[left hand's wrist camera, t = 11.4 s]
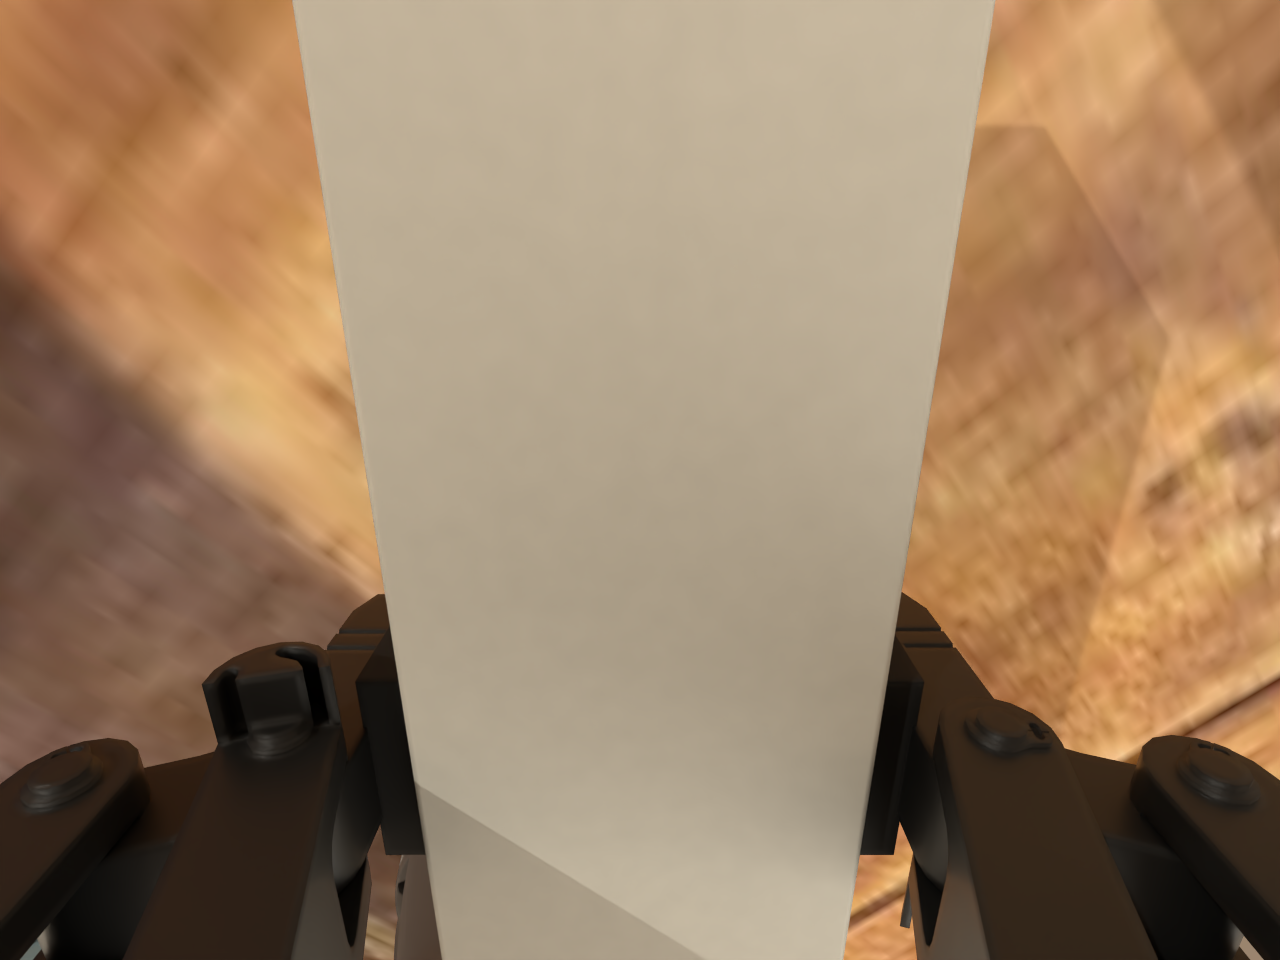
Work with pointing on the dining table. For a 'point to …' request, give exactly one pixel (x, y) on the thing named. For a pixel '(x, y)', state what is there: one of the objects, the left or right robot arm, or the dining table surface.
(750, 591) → the bar
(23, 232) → the dining table surface
